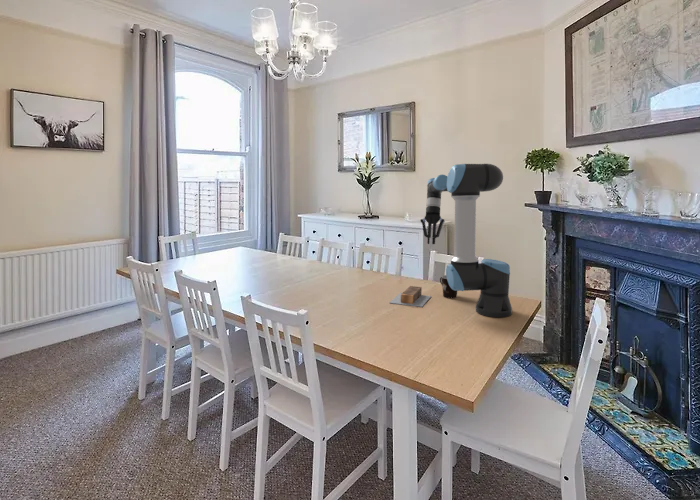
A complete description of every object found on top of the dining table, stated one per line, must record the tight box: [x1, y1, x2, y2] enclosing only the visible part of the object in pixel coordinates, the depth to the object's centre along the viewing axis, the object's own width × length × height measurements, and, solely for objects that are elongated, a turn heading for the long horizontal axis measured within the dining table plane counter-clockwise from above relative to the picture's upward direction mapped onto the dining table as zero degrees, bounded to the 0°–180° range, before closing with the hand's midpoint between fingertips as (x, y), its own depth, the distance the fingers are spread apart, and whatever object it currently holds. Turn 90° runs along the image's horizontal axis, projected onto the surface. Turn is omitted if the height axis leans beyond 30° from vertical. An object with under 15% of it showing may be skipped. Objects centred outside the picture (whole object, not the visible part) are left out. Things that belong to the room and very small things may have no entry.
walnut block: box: [401, 285, 423, 304], centre depth 199 cm, size 6×4×16 cm
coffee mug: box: [439, 274, 458, 299], centre depth 204 cm, size 12×9×10 cm
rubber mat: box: [389, 292, 432, 308], centre depth 199 cm, size 16×18×1 cm
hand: (430, 250), depth 214 cm, fingers closed
